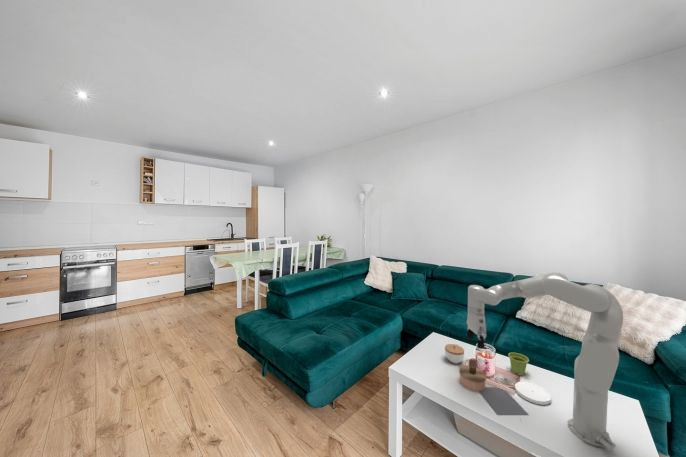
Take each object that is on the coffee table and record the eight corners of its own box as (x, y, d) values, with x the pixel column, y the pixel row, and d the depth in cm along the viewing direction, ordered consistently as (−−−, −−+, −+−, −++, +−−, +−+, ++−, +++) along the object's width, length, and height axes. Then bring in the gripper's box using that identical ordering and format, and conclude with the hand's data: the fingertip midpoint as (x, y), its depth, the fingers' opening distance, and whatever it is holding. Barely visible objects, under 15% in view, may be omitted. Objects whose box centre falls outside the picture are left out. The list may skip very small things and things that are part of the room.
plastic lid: (513, 383, 130) (513, 378, 130) (546, 392, 123) (546, 387, 123) (516, 400, 118) (516, 395, 118) (554, 411, 111) (554, 405, 111)
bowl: (489, 391, 123) (489, 381, 123) (466, 391, 123) (466, 381, 123) (477, 376, 135) (477, 367, 135) (456, 376, 135) (456, 367, 135)
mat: (529, 416, 108) (529, 415, 108) (497, 415, 108) (497, 415, 108) (502, 387, 126) (502, 387, 126) (475, 387, 126) (475, 387, 126)
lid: (491, 382, 123) (491, 368, 122) (466, 382, 123) (466, 368, 122) (477, 367, 135) (478, 354, 135) (455, 367, 135) (455, 354, 135)
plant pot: (532, 377, 134) (533, 362, 134) (515, 377, 135) (515, 361, 134) (520, 367, 144) (521, 352, 143) (504, 366, 144) (504, 352, 144)
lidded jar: (440, 358, 153) (441, 343, 152) (453, 354, 157) (453, 339, 157) (455, 367, 143) (455, 352, 143) (468, 363, 147) (468, 347, 147)
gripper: (493, 316, 119) (492, 351, 119) (474, 304, 136) (473, 334, 136) (477, 316, 118) (477, 351, 119) (460, 304, 136) (460, 334, 136)
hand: (475, 342), depth 128 cm, fingers open, 9 cm apart
